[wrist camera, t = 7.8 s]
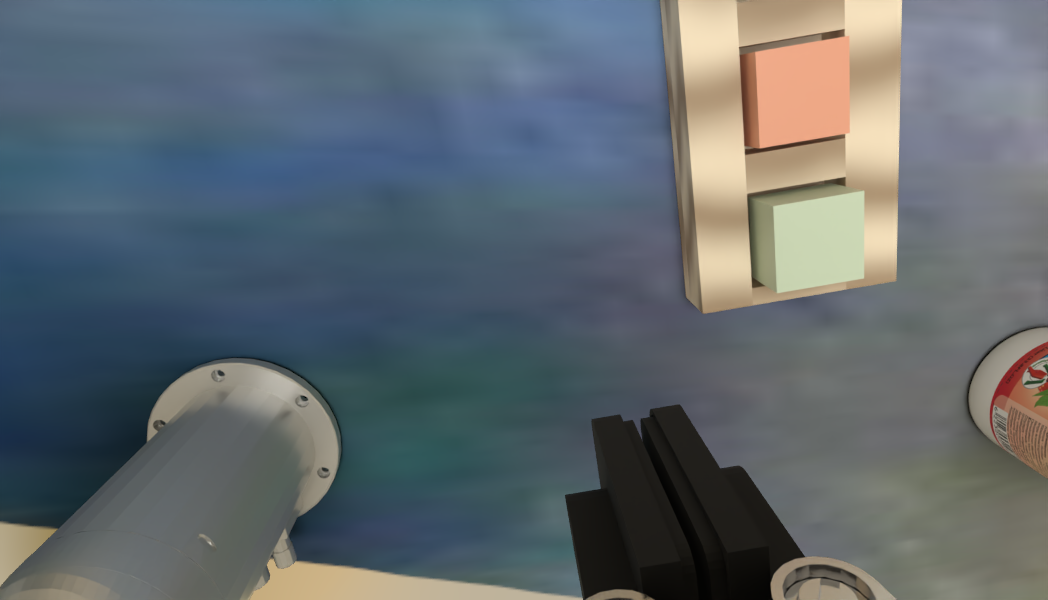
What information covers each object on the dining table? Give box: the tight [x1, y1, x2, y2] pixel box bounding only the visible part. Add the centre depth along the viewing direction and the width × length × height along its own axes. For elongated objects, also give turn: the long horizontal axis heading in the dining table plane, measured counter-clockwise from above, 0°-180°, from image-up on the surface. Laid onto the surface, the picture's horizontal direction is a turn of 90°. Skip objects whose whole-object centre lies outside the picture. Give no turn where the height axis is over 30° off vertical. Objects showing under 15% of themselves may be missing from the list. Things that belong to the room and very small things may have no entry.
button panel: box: [660, 0, 902, 314], centre depth 36 cm, size 24×12×4 cm, turn 9°
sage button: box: [748, 183, 864, 293], centre depth 36 cm, size 5×5×4 cm
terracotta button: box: [739, 36, 850, 148], centre depth 35 cm, size 5×5×4 cm
